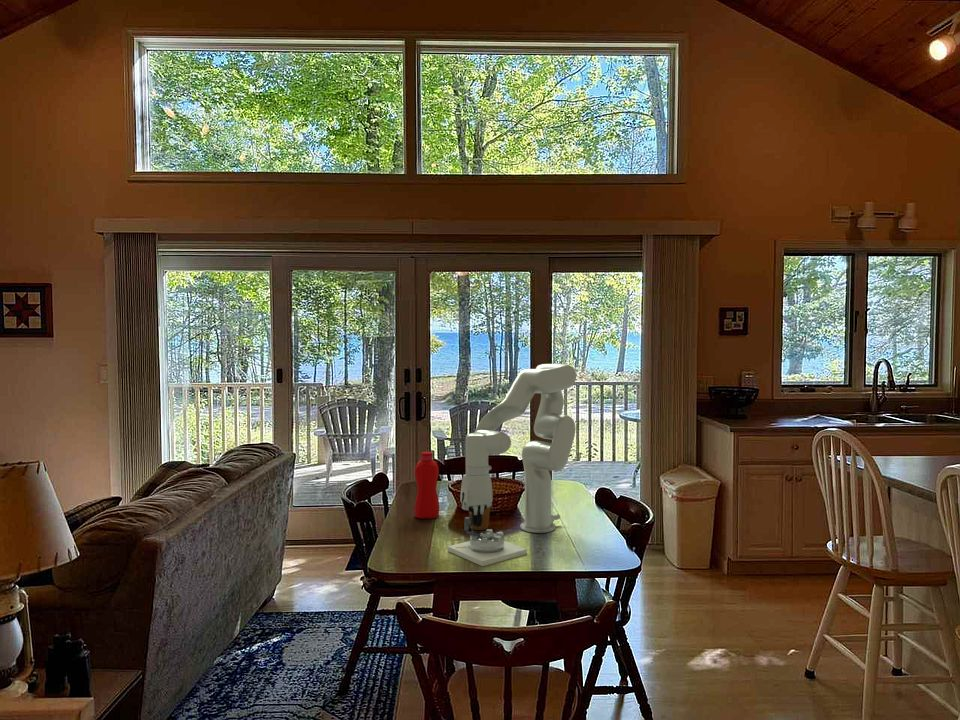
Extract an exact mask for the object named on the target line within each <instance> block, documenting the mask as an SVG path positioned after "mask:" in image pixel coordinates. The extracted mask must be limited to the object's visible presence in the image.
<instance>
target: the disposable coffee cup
mask: <svg viewBox="0 0 960 720" xmlns="http://www.w3.org/2000/svg"><path fill="white" fill-rule="evenodd" d="M476 507H477V506H476ZM490 513H491V506H490V507H488V508H486V509H485V511H484V513H483V514H482V523H481V526H480V527H479V526H478V527H476V526H474V525H473V523H472V530H474V531H485V530H487V529H489V522H490ZM468 515H469V516H468V517H471V518H472V513H471V512H470V511H469V510H468Z"/></svg>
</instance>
